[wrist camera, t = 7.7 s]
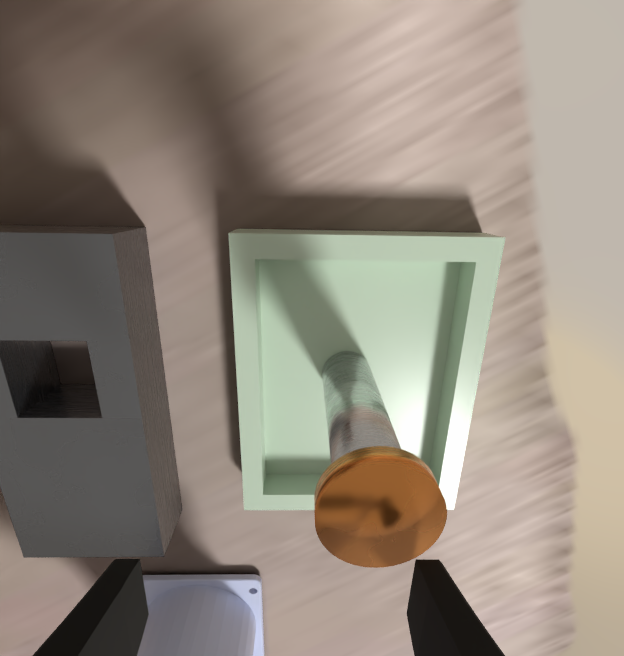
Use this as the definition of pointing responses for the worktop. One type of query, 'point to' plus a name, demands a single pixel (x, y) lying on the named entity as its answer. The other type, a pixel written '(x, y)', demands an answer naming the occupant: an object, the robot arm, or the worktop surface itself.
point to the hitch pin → (371, 476)
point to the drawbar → (84, 395)
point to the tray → (356, 345)
